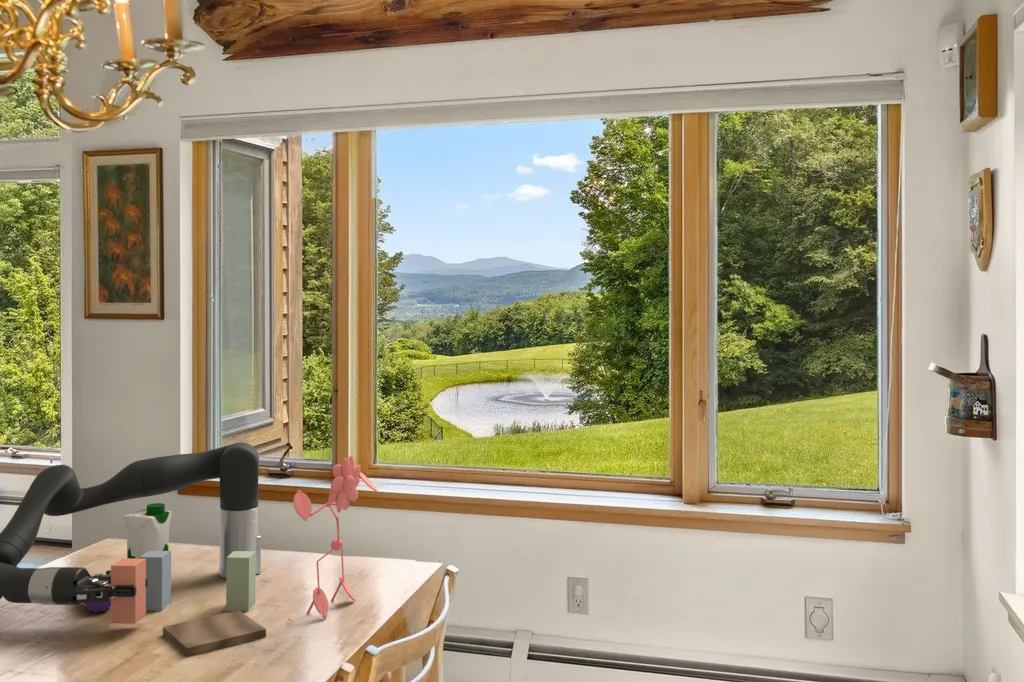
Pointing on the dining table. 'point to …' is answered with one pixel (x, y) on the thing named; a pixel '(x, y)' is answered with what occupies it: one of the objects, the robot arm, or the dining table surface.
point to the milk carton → (147, 530)
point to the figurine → (342, 493)
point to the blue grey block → (158, 579)
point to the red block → (129, 607)
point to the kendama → (98, 606)
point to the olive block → (240, 580)
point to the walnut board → (213, 632)
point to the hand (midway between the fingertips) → (141, 586)
